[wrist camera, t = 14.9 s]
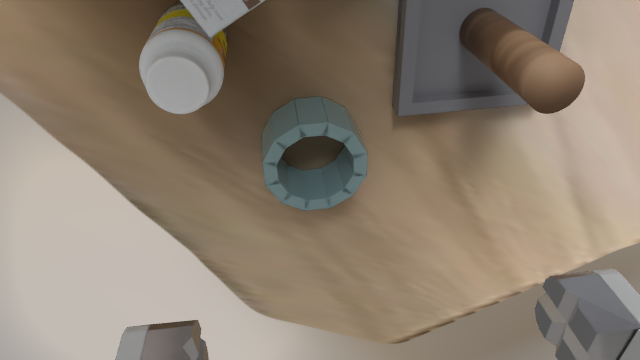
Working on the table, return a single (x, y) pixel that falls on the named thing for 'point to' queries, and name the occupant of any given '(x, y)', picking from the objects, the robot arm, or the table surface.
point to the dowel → (522, 61)
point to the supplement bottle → (182, 62)
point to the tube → (313, 184)
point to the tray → (460, 53)
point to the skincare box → (218, 12)
